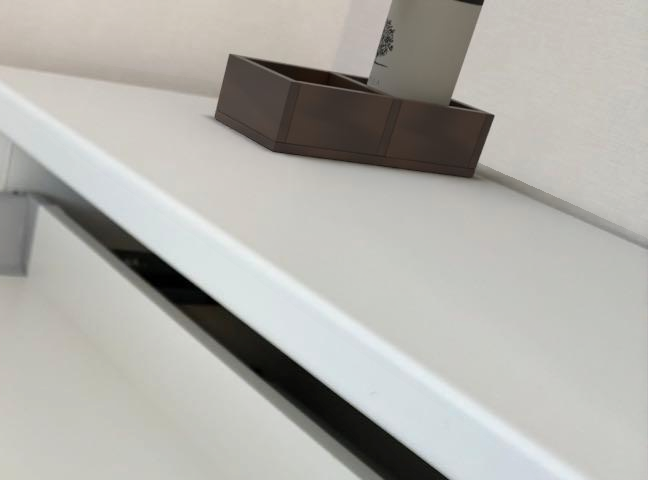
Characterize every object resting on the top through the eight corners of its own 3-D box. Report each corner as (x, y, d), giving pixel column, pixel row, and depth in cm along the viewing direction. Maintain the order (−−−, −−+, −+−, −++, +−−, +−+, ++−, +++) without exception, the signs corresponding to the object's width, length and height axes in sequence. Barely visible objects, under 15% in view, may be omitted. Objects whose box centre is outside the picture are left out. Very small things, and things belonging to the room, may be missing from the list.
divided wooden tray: (402, 145, 114) (421, 86, 111) (472, 177, 105) (495, 115, 102) (213, 118, 105) (228, 53, 102) (272, 151, 96) (291, 81, 93)
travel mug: (431, 147, 109) (499, -54, 100) (433, 160, 103) (505, -54, 94) (353, 128, 110) (414, -73, 101) (350, 139, 103) (414, -75, 94)
